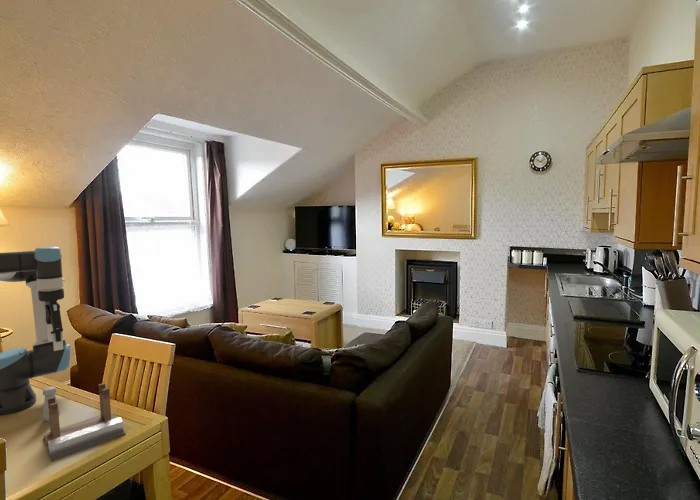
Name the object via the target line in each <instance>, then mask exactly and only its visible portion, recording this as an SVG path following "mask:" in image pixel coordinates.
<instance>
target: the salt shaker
mask: <svg viewBox="0 0 700 500" xmlns="http://www.w3.org/2000/svg"><path fill="white" fill-rule="evenodd" d="M56 393H57V387H55V386H48V387H45V388H44V389H43V390H42V395H43V396H44V402H43V407H42V415H41V417H42V419H43V420H44V422H46V423H50V420H49V408H48V398H51V397H55V403H58V414H59V416H61V408H60V406H59V401H58V399H57V396H56Z"/></svg>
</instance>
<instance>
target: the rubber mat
mask: <svg viewBox="0 0 700 500" xmlns="http://www.w3.org/2000/svg"><path fill="white" fill-rule="evenodd" d="M124 435H127V434H126V432H125V430H124V429H123V430H122V431H119V432H116V433H114V434H111V435H108V436H105V437H102V438H99V439H97V440H94V441H91V442H88V443H85V444H83V445H80V446H77V447H74V448H71V449H69V450H66V451H63V452H60V453H57V454H54V455H52V456H50V453H49V449H48V448H47V451H48V453H49V457H50V459H51V462H53V461H56V460H59V459H61V458H64V457H67V456H70V455H73V454H76V453H78V452H81V451H84V450H87V449H89V448H91V447H96V446H98V445H100V444H102V443H105V442H108V441H111V440H113V439H117V438H119V437H122V436H124Z"/></svg>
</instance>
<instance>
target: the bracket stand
mask: <svg viewBox="0 0 700 500" xmlns="http://www.w3.org/2000/svg"><path fill="white" fill-rule="evenodd" d="M98 392H99V409H100V415H97V416H94V417H93V416H92V417H90V418H88V419H85V420H81V421H78V422H75V423H72V424H69V425H66V426H63V427H60V415H59V414H58V405H59V402H58V403H55V397H51V398H48V408H49V420H50V422H49V429H50V431H47V432H44V433H43V440H44V443H45V445H46V447H47V448H48V441H49V440H52V439H55V438H58V437H61V436H64V435H67V434H70V433H73V432H76V431H79V430H82V429H85V428H88V427H91V426H94V425H97V424H100V423H103V422H106V421H110V420H113V419H116V418H117V417H116V415H115V414H114V412H113V411H112V409H111V397H110V396H111V395H110V388H107V387H106V383H105V382H103V383H99V384H98Z"/></svg>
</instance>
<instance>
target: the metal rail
mask: <svg viewBox="0 0 700 500" xmlns="http://www.w3.org/2000/svg"><path fill="white" fill-rule="evenodd" d="M122 430H124V421H123V419H122V417H120V416H119V417H116V419H113V420H110V421H106V422H103V423H100V424H97V425H94V426H91V427H88V428H85V429H82V430H79V431H76V432H73V433H70V434H67V435H64V436H61V437H58V438H55V439H52V440H49V441H48V447H47V450H48V449H49V451H48V453H50V454H49V457H50V456H52V455H54V454H57V453H60V452H63V451H66V450H69V449H71V448H74V447H77V446H80V445H83V444H85V443H88V442H91V441H94V440H97V439H99V438H102V437H105V436H108V435H111V434H114V433H116V432H119V431H122Z"/></svg>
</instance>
